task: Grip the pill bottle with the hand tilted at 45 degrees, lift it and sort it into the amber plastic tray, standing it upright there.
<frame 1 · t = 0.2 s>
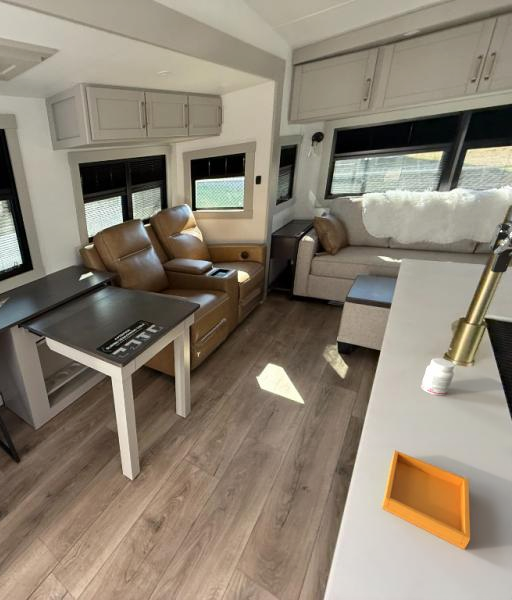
amber tray: (423, 499, 57), on the table
pill bottle: (433, 390, 81), on the table
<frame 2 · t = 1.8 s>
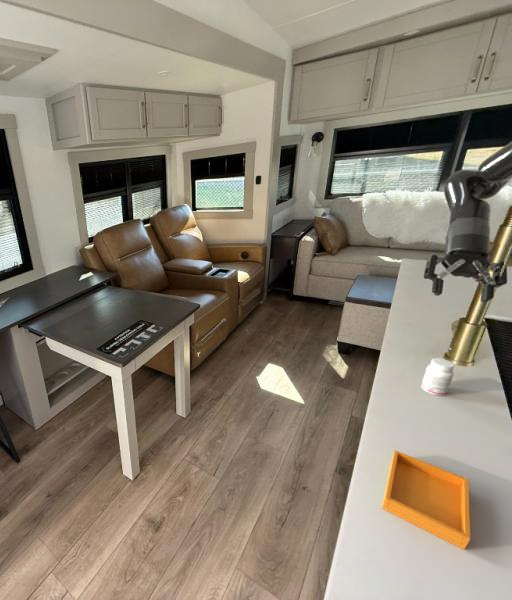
hand: (461, 297, 78), 23 cm above the table, tool tilted 40°, fingers open, 8 cm apart
nothing on the table moved.
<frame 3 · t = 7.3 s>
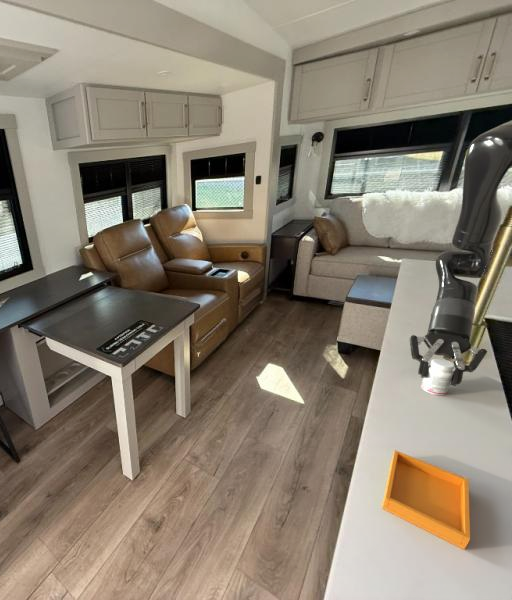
hand: (438, 380, 79), 4 cm above the table, tool tilted 45°, fingers closed on pill bottle, 4 cm apart
pill bottle: (433, 390, 81), on the table, touching gripper
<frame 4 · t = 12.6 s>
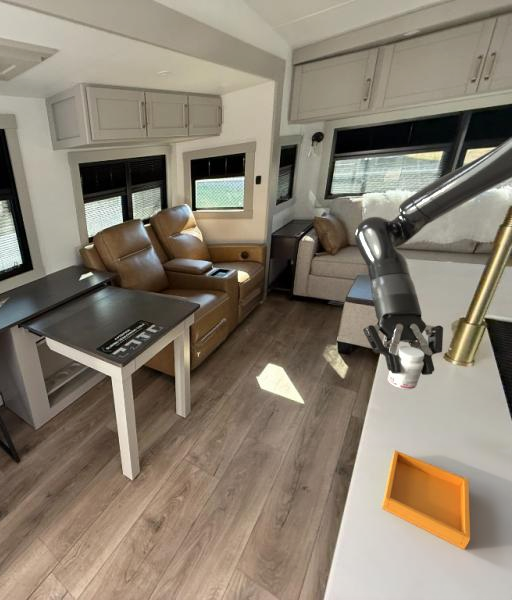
hand: (411, 373, 66), 15 cm above the table, tool tilted 40°, fingers closed on pill bottle, 4 cm apart
pill bottle: (401, 383, 70), point 11 cm above the table, touching gripper
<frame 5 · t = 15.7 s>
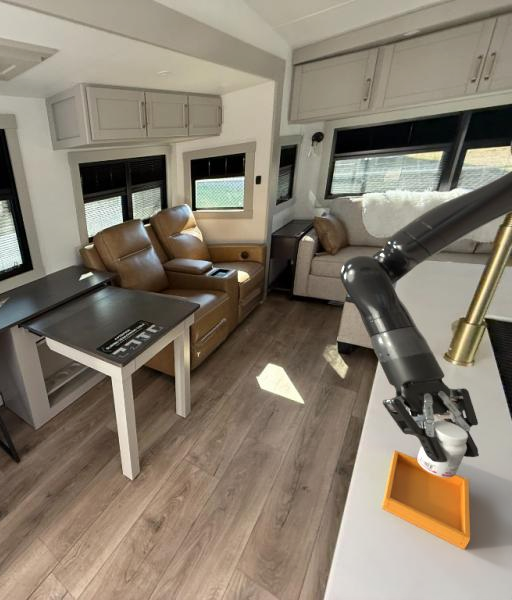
hand: (455, 458, 51), 12 cm above the table, tool tilted 45°, fingers closed on pill bottle, 4 cm apart
pill bottle: (434, 467, 55), point 8 cm above the table, touching gripper
when the fingers open (5 cm above the table, at t = 18.2 s): pill bottle stays where it is, resting on amber tray.
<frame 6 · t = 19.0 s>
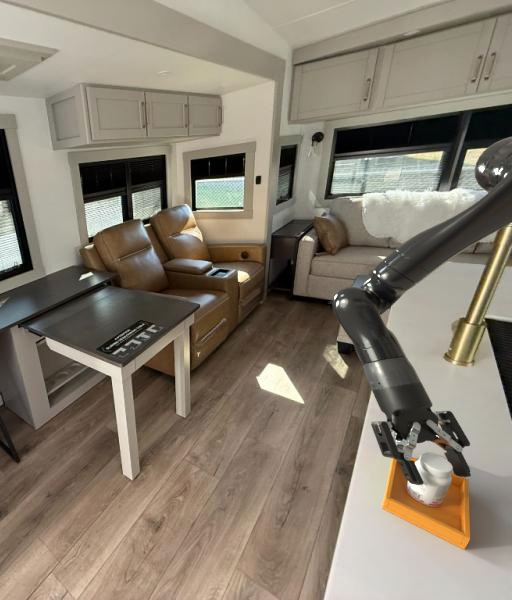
hand: (440, 480, 54), 6 cm above the table, tool tilted 45°, fingers open, 8 cm apart
pill bottle: (422, 495, 57), point 1 cm above the table, touching amber tray
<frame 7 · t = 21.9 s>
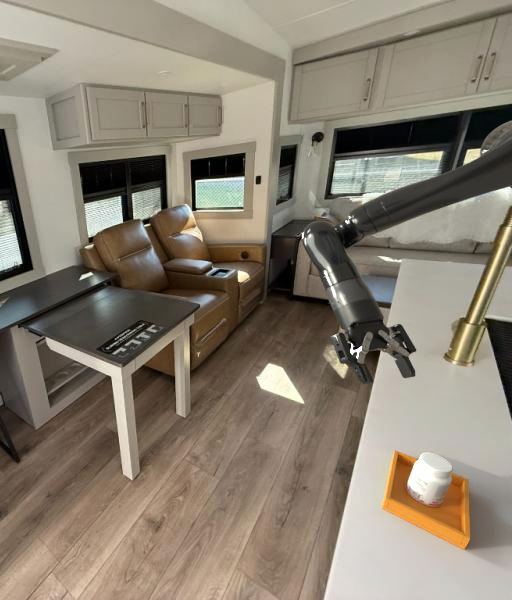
hand: (389, 380, 61), 18 cm above the table, tool tilted 45°, fingers open, 8 cm apart
nothing on the table moved.
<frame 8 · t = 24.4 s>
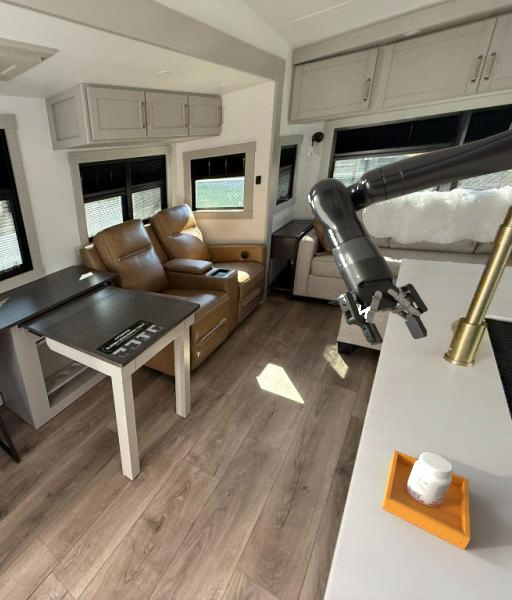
hand: (399, 341, 58), 27 cm above the table, tool tilted 45°, fingers open, 8 cm apart
nothing on the table moved.
at the end: pill bottle inside the target area in the amber tray (0.2 cm from its centre), point 0.6 cm above the amber tray's base; pill bottle tilted 0°; the gripper is holding nothing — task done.
